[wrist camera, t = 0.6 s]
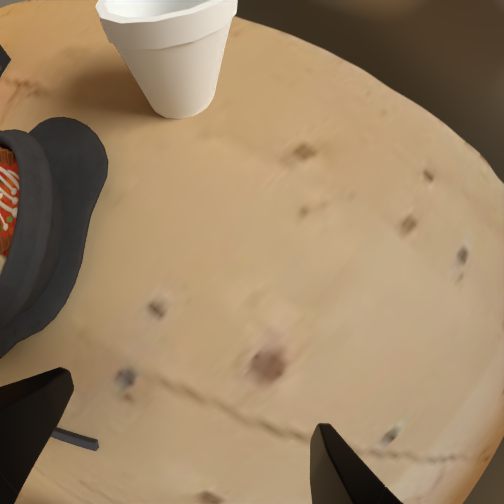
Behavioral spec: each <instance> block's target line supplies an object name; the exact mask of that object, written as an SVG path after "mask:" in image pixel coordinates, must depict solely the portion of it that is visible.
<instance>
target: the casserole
mask: <svg viewBox="0 0 504 504" xmlns="http://www.w3.org/2000/svg"><path fill="white" fill-rule="evenodd" d="M107 172H108V158H107V155H106V151H105V148H104V146H103V144H102V143H101V141H100V139H99V138H98V136H97V135H96V134H95V133H94V132H93V131H92V130H91V129H90V128H89V127H88V126H87V125H85V124H83V123H81V122H79V121H77V120H75V119H71V118H66V117H56V118H50V119H47V120H45V121H43V122H41V123H39V124H38V125H37V126H36V127H35V128H34V129H33V130H31V131H30V132H29V133H27V132H24V131H20V130H15V129H14V130H5V131H0V359H1V358H2V357H3V356H4V355H5V354H6V353H7V352H8V351H9V350H10V349H11V348H12V347H13V346H14V345H15V344H16V343H18V342H20V341H22V340H24V339H25V338H27V337H29V336H31V335H33V334H35V333H37V332H39V331H41V330H43V329H44V328H45V327H46V326H47V325H48V324H49V323H50V322H51V321H52V320H54V319H55V317H56V316H57V314H58V313H59V311H60V310H61V309H62V307H63V306H64V305H65V303H66V301H67V299H68V297H69V295H70V293H71V291H72V289H73V287H74V285H75V282H76V279H77V276H78V273H79V270H80V267H81V264H82V259H83V253H84V248H85V242H86V237H87V232H88V227H89V222H90V217H91V214H92V212H93V209H94V207H95V204H96V202H97V199H98V197H99V195H100V192H101V190H102V188H103V185H104V183H105V181H106V178H107Z"/></svg>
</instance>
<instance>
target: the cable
mask: <svg viewBox="0 0 504 504" xmlns="http://www.w3.org/2000/svg"><path fill="white" fill-rule="evenodd" d="M50 437H53V438H56V439H58V440H61V441H64V442H67V443H70V444H73V445H76V446H80V447H83V448H86V449H90V450H93V451H96V450H97V449H98V448H99V445H98V440H96V439H92V438H89V437H85V436H82V435H78V434H75V433H72V432H69V431H66V430H63V429H60V428H57V427H56V428H55V429H54V431H53V433H52V435H51V436H50Z"/></svg>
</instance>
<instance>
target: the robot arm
mask: <svg viewBox="0 0 504 504" xmlns="http://www.w3.org/2000/svg"><path fill="white" fill-rule="evenodd" d="M73 391H74V385H73V381H72V377H71V373H70V371H69V370H67V369H65V368H62V367H59V368H56V369H53V370H50V371H47V372H44V373H41V374H38V375H35V376H32V377H29V378H26V379H23V380H20V381H17V382H14V383H11V384H8V385H5V386H2V387H0V504H14V503H15V501H16V499H17V497H18V494H19V492H20V491H21V489H22V487H23V485H24V483H25V481H26V479H27V477H28V475H29V473H30V472H31V470H32V468H33V466H34V464H35V462H36V461H37V459H38V457H39V455H40V453H41V452H42V450H43V448H44V446H45V445H46V443H47V441H48V440H49V438H50V436H51V435H52V433H53V431H54V429H55V428H56V426H57V424H58V423H59V421H60V419H61V417H62V415H63V413H64V410H65V408H66V406H67V404H68V402H69V400H70V398H71V396H72V393H73ZM310 486H311V495H312V504H403V503H402V502H401V501H400V500H399V499H398V498H397V497H396V496H395V495H394V494H393V493H392V492H391V491H390V490H389V489H388V488H387V487H385V485H384V484H383V483H382V482H381V481H380V480H379V479H378V477H377V476H376V475H375V474H374V473H373V472H372V471H371V470H370V469H369V468H368V466H367V465H366V464H365V463H364V462H363V461H362V460H361V459H360V458H359V456H358V455H357V454H356V453H355V452H354V451H353V450H352V449H351V447H350V446H349V445H348V444H347V443H346V442H345V441H344V439H343V438H342V437H341V436H340V435H339V434H338V432H337V431H336V430H335V429H334V428H333V427H332V425H331V424H328V423H319V424H318V425H317V426H316V428H315V431H314V433H313V435H312V438H311V443H310Z"/></svg>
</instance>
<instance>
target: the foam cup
mask: <svg viewBox="0 0 504 504" xmlns="http://www.w3.org/2000/svg"><path fill="white" fill-rule="evenodd" d="M95 7H96V10H97V13H98V16H99V18H100V21H101V24H102V27H103V29H104V31H105V34H106V36H107V38H108V40H109V42H110V43H113V44H114V45H115V47H116V48H117V50H118V52H119V53H120V55H121V57H122V58H123V60H124V62H125V63H126V65H127V67H128V68H129V70H130V72H131V73H132V75H133V77H134V78H135V80H136V82H137V83H138V85H139V87H140V88H141V90H142V92H143V93H144V95H145V96H146V98H147V100H148V101H149V103H150V105H151V106H152V108H153V109H154V111H155V112H156V113H158V114H160V115H161V116H163V117H165V118H171V119H184V118H187V117H191V116H195V115H197V114H198V113H200V112H201V111H203V110H204V109H206V108H207V107H208V105H209V104H210V102H211V101H212V99H213V97H214V93H215V89H216V85H217V80H218V75H219V71H220V66H221V62H222V57H223V53H224V49H225V44H226V40H227V36H228V32H229V28H230V24H231V20H232V17H233V16H234V15H235V14H236V11H237V0H99V1H98V2H97V4H96V6H95Z"/></svg>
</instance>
